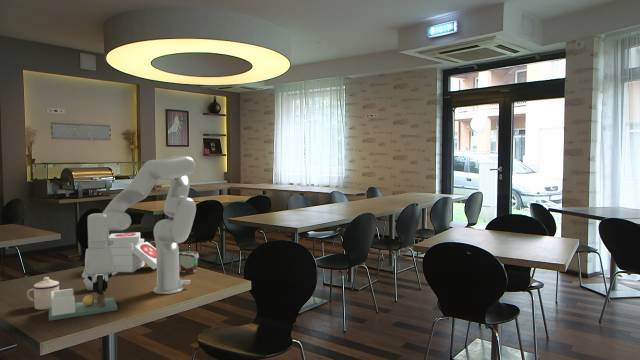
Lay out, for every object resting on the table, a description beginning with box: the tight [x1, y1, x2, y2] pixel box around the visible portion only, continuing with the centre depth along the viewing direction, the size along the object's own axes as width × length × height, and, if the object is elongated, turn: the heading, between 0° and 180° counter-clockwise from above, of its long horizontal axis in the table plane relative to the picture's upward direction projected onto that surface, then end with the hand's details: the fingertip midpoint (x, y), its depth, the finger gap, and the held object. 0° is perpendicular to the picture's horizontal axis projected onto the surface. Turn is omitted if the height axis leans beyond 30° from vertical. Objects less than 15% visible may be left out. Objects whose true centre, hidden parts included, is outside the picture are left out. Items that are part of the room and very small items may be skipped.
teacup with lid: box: [26, 276, 61, 311], centre depth 186 cm, size 12×9×12 cm
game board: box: [48, 288, 118, 322], centre depth 181 cm, size 23×14×8 cm, turn 120°
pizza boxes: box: [109, 231, 157, 273], centre depth 249 cm, size 19×30×18 cm, turn 87°
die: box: [82, 274, 104, 292], centre depth 209 cm, size 8×9×10 cm
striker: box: [96, 274, 106, 307], centre depth 184 cm, size 2×10×11 cm, turn 30°
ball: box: [82, 294, 95, 306], centre depth 182 cm, size 4×4×4 cm
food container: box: [179, 250, 200, 274], centre depth 242 cm, size 12×6×10 cm, turn 58°
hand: (100, 290), depth 184 cm, fingers closed on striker, 2 cm apart
